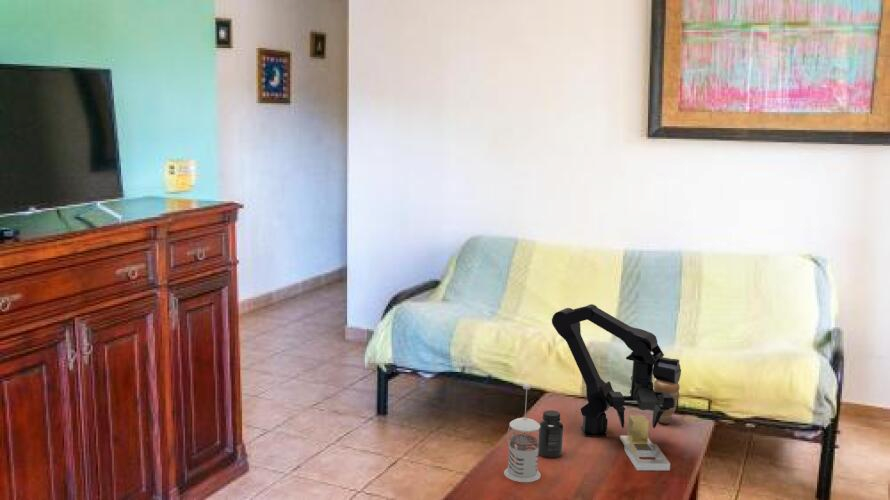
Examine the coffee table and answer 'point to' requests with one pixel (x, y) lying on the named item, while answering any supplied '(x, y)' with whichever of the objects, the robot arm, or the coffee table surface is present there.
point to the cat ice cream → (673, 391)
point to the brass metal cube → (637, 429)
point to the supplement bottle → (550, 435)
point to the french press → (523, 450)
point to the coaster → (626, 441)
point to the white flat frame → (647, 451)
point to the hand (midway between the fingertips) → (638, 427)
